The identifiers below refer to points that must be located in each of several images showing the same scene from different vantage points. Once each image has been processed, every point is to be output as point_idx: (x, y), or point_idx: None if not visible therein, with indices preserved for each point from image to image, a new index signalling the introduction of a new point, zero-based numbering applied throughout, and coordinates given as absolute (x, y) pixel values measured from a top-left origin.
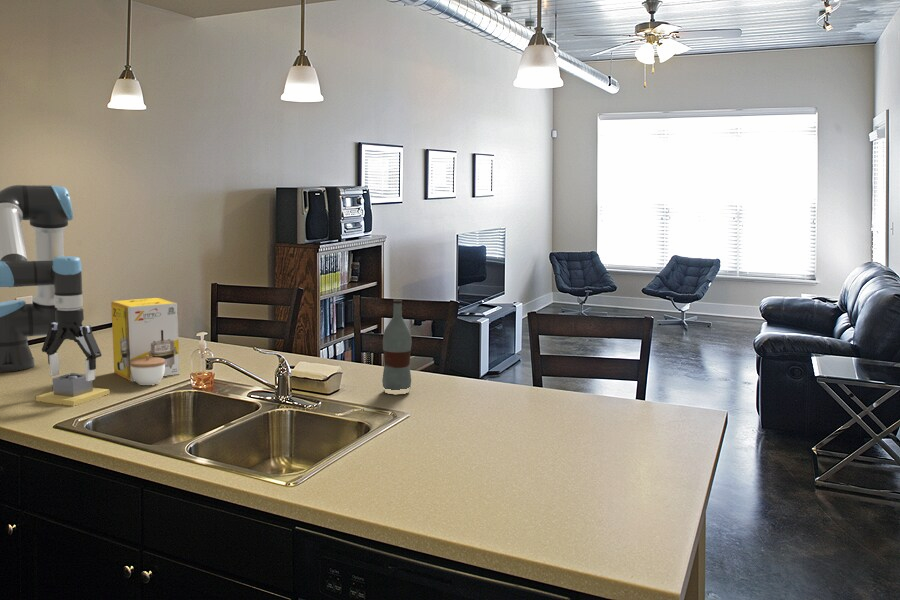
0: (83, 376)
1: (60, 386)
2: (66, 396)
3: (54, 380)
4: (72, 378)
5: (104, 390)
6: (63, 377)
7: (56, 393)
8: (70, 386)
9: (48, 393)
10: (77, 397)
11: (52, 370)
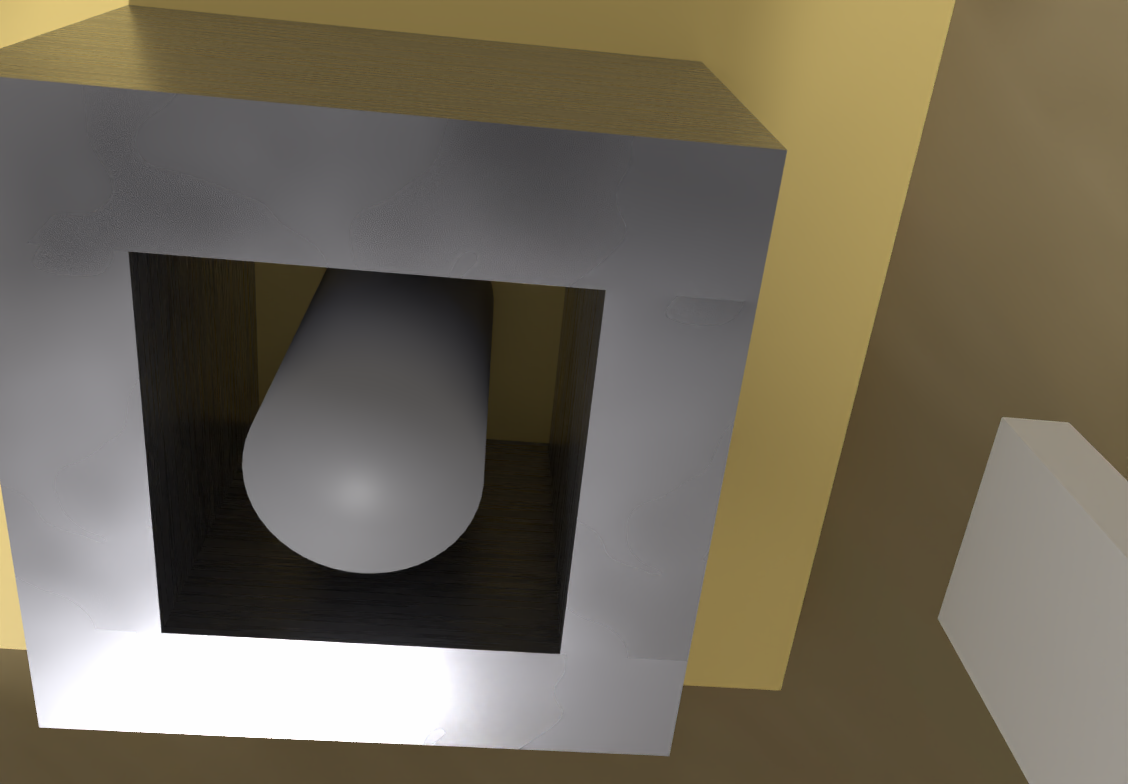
0: (106, 567)
1: (490, 78)
2: (320, 7)
3: (707, 128)
4: (284, 375)
5: (3, 580)
6: (593, 379)
7: (621, 58)
8: (120, 48)
9: (865, 108)
10: (24, 5)
11: (1072, 523)
